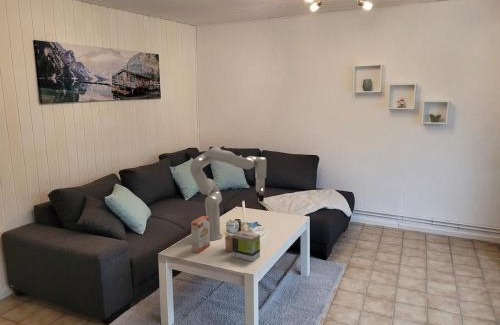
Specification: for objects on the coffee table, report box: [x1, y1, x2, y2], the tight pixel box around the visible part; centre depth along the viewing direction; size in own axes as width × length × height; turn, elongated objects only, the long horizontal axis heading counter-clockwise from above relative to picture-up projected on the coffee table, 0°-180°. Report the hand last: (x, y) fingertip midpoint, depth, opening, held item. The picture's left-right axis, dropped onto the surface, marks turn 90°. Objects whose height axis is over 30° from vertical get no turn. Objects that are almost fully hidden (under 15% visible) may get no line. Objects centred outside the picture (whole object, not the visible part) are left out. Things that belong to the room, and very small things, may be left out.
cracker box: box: [190, 215, 211, 254], centre depth 257 cm, size 14×6×21 cm, turn 153°
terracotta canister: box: [224, 235, 233, 253], centre depth 256 cm, size 6×6×9 cm
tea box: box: [231, 230, 261, 262], centre depth 245 cm, size 15×10×15 cm
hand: (260, 199), depth 268 cm, fingers open, 9 cm apart
